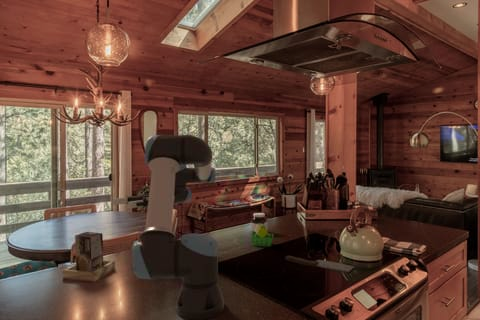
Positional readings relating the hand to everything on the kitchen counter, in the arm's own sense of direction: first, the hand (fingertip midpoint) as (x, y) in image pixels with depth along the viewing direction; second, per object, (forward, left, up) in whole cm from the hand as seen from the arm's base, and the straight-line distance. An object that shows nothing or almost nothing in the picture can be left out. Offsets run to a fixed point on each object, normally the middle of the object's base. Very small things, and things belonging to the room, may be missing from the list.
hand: (120, 203), depth 144 cm
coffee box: (-10, +8, -28) cm, 30 cm away
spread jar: (+66, -50, -28) cm, 87 cm away
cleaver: (+21, -83, -29) cm, 91 cm away
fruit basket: (+44, -55, -28) cm, 75 cm away
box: (-10, +8, -28) cm, 31 cm away
